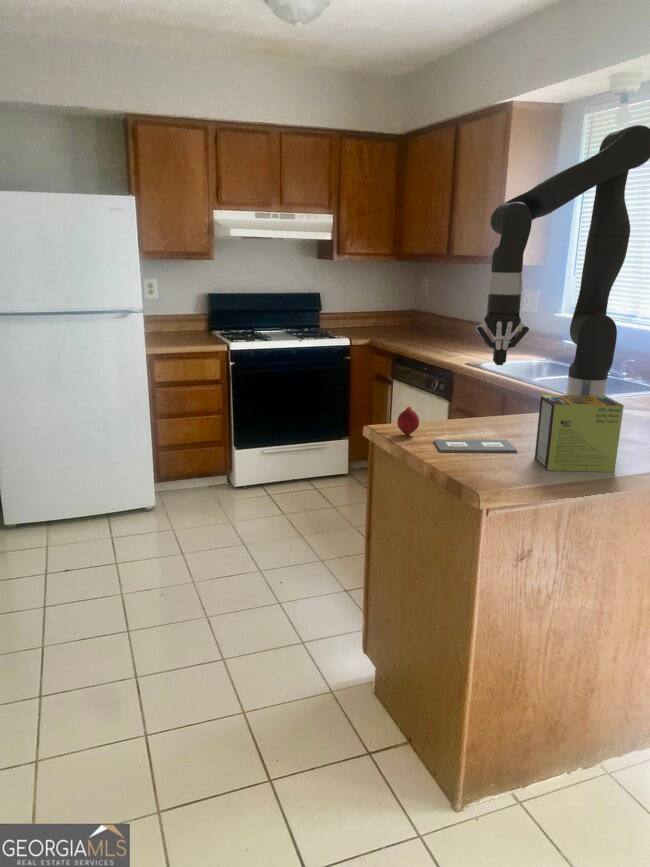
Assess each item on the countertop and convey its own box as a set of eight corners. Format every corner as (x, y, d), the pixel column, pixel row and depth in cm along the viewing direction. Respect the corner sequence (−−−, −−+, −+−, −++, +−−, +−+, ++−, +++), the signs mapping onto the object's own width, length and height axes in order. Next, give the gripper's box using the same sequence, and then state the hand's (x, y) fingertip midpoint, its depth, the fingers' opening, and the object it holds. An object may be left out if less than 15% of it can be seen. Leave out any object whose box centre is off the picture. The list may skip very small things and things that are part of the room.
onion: (417, 438, 169) (419, 409, 166) (395, 437, 170) (397, 408, 168) (419, 433, 174) (420, 404, 172) (397, 431, 175) (399, 403, 173)
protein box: (615, 472, 144) (625, 405, 140) (546, 471, 144) (554, 404, 140) (597, 458, 154) (606, 395, 150) (533, 457, 154) (539, 394, 150)
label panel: (506, 442, 166) (507, 439, 166) (517, 452, 158) (517, 449, 157) (433, 441, 166) (433, 439, 166) (440, 451, 157) (440, 449, 157)
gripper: (527, 291, 155) (521, 362, 160) (473, 291, 155) (468, 362, 160) (537, 293, 148) (530, 367, 153) (480, 292, 148) (475, 367, 153)
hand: (498, 364), depth 156 cm, fingers closed
